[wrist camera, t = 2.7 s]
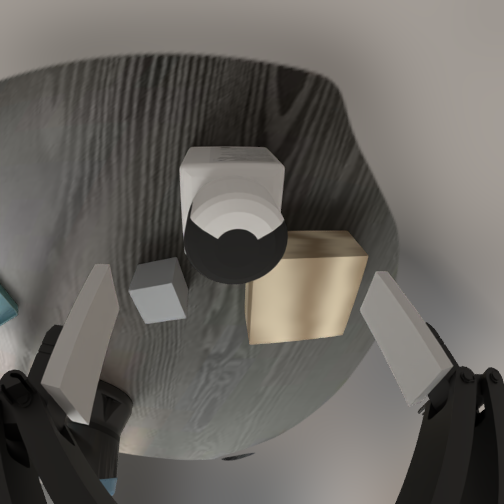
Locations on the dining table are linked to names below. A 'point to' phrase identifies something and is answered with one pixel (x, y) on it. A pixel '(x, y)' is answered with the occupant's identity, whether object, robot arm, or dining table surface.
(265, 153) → the container
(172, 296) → the slate cube
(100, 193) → the dining table surface
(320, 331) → the maple block
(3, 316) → the teal serving tray
